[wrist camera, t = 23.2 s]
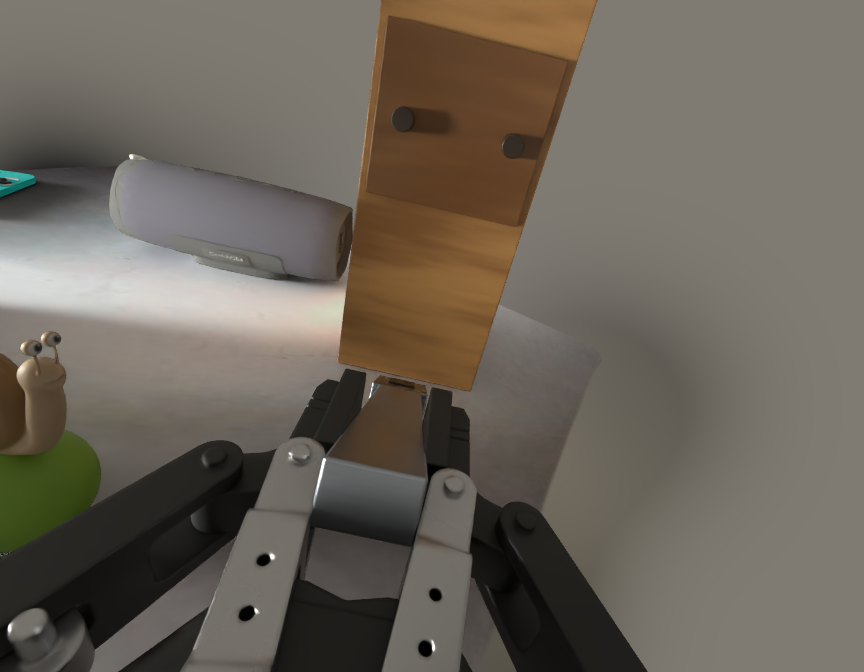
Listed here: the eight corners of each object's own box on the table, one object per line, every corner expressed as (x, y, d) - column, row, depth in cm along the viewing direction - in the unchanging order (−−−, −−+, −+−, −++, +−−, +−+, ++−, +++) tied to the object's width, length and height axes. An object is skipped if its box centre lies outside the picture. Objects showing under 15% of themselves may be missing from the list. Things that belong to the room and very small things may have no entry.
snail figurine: (51, 604, 18) (-49, 382, 12) (-76, 554, 19) (-231, 319, 13) (152, 503, 23) (115, 307, 17) (48, 465, 23) (-23, 264, 17)
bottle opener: (430, 553, 9) (447, 478, 9) (288, 523, 9) (306, 447, 9) (420, 408, 28) (426, 384, 28) (374, 398, 28) (380, 373, 28)
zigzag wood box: (470, 402, 36) (654, -152, 20) (332, 372, 36) (400, -222, 19) (470, 315, 50) (575, -46, 34) (371, 293, 50) (429, -85, 33)
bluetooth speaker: (349, 273, 54) (359, 193, 49) (330, 305, 45) (339, 213, 40) (166, 234, 52) (157, 147, 47) (114, 259, 44) (96, 158, 39)
